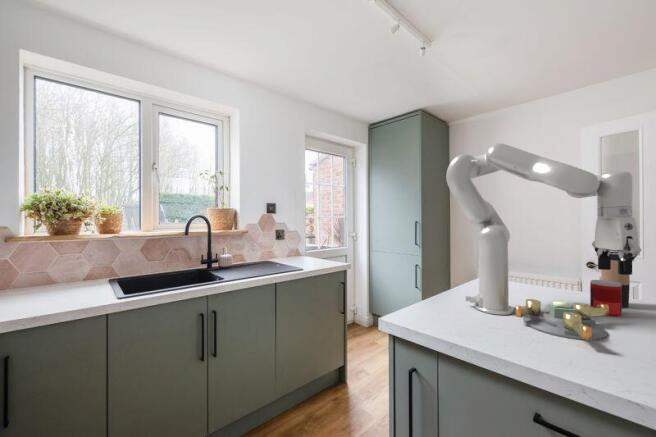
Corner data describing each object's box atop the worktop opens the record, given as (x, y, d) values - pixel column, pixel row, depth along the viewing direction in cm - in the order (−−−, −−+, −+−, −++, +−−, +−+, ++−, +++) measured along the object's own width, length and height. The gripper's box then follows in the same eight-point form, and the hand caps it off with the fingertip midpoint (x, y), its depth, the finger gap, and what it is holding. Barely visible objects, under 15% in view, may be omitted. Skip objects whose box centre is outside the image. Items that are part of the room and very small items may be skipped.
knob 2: (583, 320, 88) (583, 307, 88) (570, 315, 92) (570, 303, 92) (613, 317, 90) (613, 304, 90) (599, 313, 94) (599, 301, 94)
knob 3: (561, 324, 85) (560, 311, 85) (577, 326, 83) (577, 312, 83) (578, 340, 74) (578, 325, 74) (598, 342, 73) (598, 327, 73)
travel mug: (595, 302, 113) (595, 251, 112) (615, 302, 112) (615, 251, 112) (614, 308, 105) (614, 254, 105) (635, 308, 105) (635, 254, 104)
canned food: (628, 317, 96) (628, 285, 96) (600, 316, 97) (600, 284, 97) (610, 310, 103) (610, 280, 103) (585, 309, 105) (585, 279, 105)
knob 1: (529, 310, 98) (529, 298, 98) (543, 313, 94) (543, 301, 94) (511, 316, 92) (510, 304, 92) (524, 320, 89) (524, 307, 89)
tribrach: (533, 334, 84) (533, 308, 84) (516, 312, 102) (516, 291, 102) (622, 344, 76) (622, 316, 76) (586, 318, 95) (586, 296, 95)
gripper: (657, 212, 77) (657, 278, 77) (604, 213, 94) (604, 266, 94) (626, 213, 78) (625, 278, 78) (579, 213, 95) (579, 266, 96)
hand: (614, 271), depth 86 cm, fingers open, 6 cm apart
